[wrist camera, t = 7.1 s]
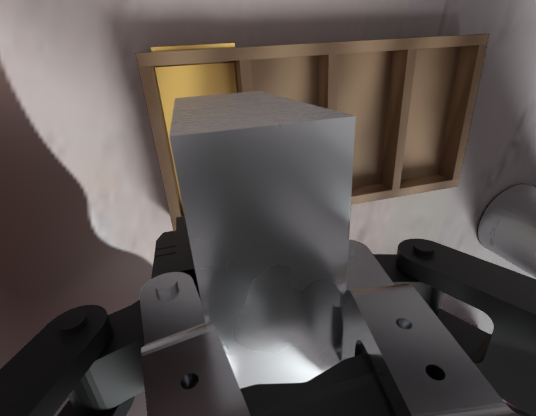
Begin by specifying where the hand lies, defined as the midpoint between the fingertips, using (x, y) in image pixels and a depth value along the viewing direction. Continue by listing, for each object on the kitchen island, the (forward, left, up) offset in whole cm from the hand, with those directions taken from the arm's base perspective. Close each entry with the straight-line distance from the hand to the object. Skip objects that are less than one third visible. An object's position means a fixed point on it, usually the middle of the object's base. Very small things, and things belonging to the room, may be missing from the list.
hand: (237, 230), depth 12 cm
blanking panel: (0, 0, -1) cm, 1 cm away
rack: (-10, 0, -17) cm, 20 cm away
